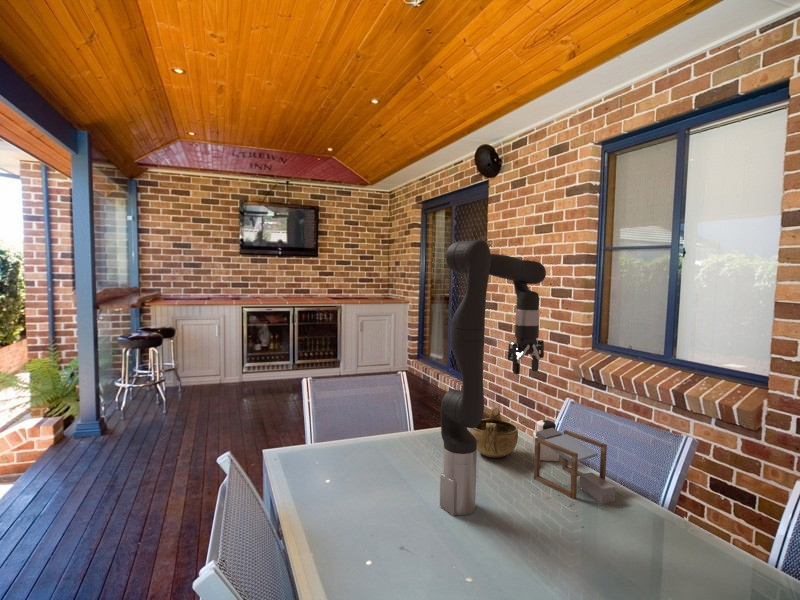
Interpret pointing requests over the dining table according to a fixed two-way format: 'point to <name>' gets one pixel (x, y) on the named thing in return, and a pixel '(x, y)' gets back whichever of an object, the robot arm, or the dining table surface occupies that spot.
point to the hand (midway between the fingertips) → (525, 372)
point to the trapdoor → (566, 444)
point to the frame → (565, 463)
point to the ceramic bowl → (495, 435)
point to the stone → (597, 487)
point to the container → (545, 451)
